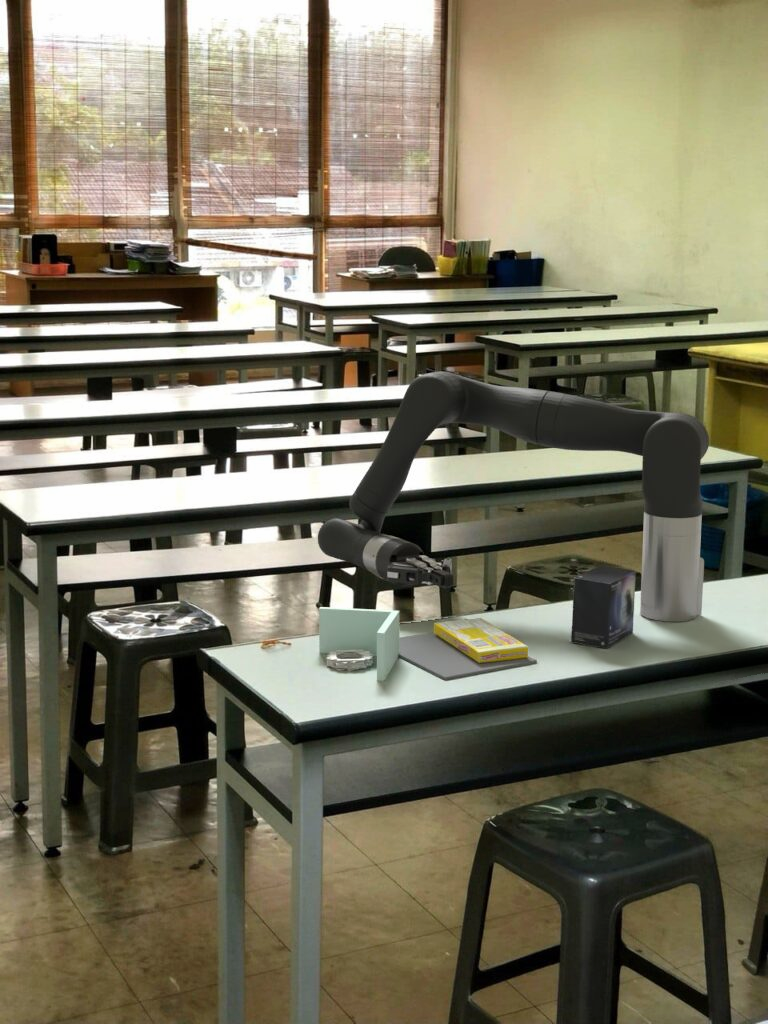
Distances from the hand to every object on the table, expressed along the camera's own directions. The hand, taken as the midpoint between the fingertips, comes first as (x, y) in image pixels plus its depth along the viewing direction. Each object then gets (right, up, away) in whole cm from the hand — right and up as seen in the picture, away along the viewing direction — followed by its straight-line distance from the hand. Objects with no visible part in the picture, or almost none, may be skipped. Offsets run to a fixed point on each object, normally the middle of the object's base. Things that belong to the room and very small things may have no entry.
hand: (449, 581), depth 212 cm
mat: (0, -10, -14) cm, 17 cm away
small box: (+24, -9, -6) cm, 26 cm away
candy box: (+8, -8, -10) cm, 15 cm away
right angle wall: (-15, -12, -19) cm, 27 cm away
